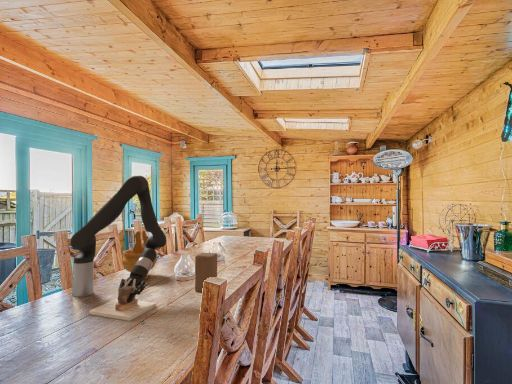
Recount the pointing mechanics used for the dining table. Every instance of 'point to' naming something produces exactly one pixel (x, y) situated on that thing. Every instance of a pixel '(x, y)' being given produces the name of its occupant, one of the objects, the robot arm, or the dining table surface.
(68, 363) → the dining table surface
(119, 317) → the board
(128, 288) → the block
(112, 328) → the dining table surface
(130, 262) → the mustard brown vase
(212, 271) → the wooden block
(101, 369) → the dining table surface
